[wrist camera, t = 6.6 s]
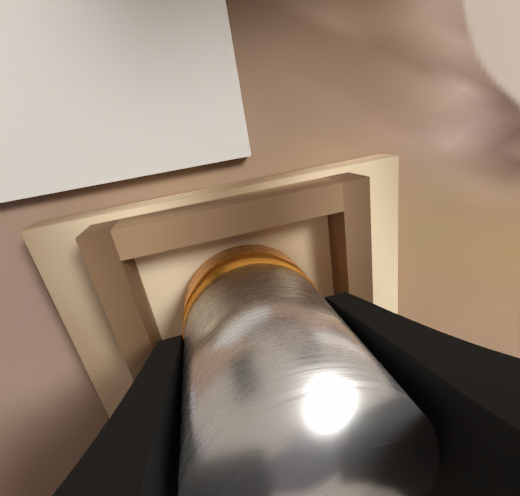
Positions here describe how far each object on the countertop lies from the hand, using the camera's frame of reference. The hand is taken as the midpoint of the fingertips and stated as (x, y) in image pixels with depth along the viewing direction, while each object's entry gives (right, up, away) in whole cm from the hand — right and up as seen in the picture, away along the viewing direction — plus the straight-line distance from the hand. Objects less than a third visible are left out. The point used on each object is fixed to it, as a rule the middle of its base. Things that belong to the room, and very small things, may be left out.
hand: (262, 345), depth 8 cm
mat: (-5, +8, -1) cm, 9 cm away
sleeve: (0, +1, +2) cm, 2 cm away
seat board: (0, -3, +4) cm, 5 cm away
